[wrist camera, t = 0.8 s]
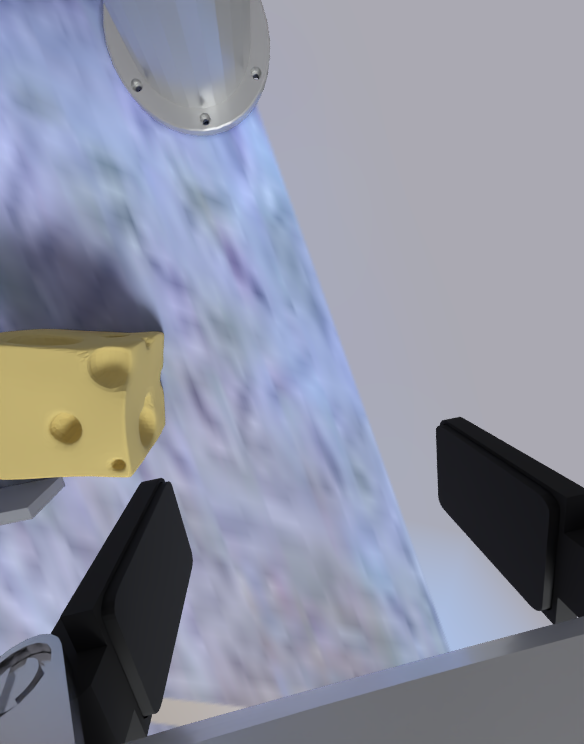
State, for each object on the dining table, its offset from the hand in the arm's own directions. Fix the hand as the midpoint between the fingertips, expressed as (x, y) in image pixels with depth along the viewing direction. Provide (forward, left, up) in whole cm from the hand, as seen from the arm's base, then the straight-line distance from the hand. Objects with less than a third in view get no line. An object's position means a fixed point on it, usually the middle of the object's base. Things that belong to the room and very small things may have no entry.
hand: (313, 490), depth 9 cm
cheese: (0, -16, -24) cm, 28 cm away
